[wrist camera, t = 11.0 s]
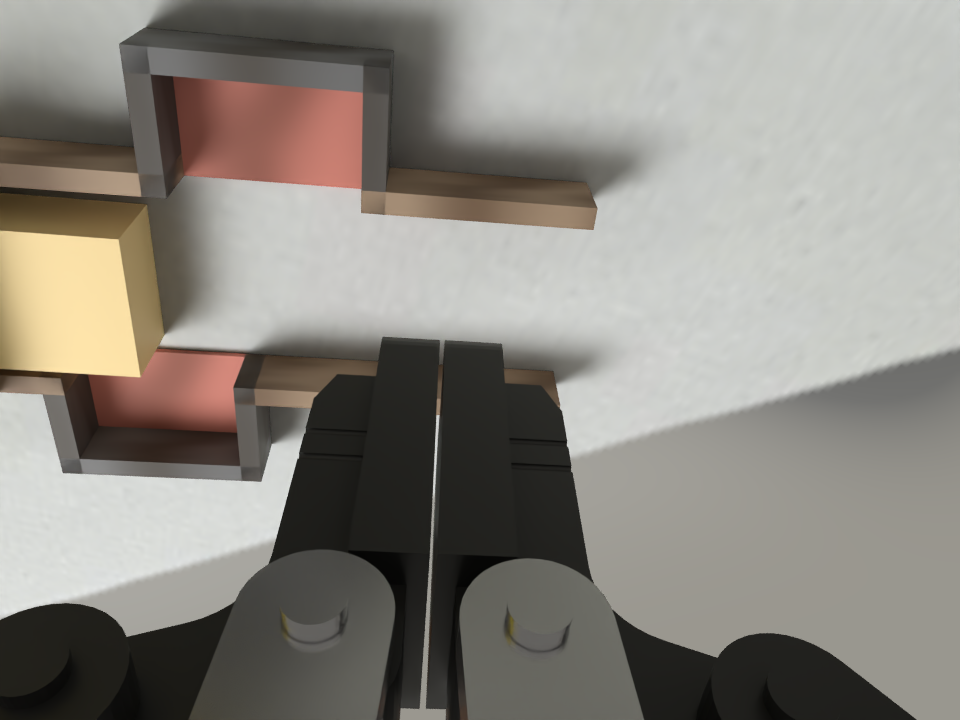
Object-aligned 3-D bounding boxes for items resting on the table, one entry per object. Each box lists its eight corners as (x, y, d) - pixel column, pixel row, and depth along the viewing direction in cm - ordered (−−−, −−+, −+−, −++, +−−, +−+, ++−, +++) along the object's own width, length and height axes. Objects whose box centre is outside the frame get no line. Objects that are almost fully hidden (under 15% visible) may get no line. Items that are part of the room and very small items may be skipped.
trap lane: (606, 70, 33) (641, 119, 28) (537, 457, 45) (551, 549, 39) (-92, 6, 31) (-216, 45, 25) (27, 433, 43) (-38, 527, 37)
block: (148, 202, 36) (118, 239, 33) (165, 332, 40) (140, 377, 37) (-12, 189, 35) (-59, 225, 32) (21, 322, 39) (-18, 367, 36)
